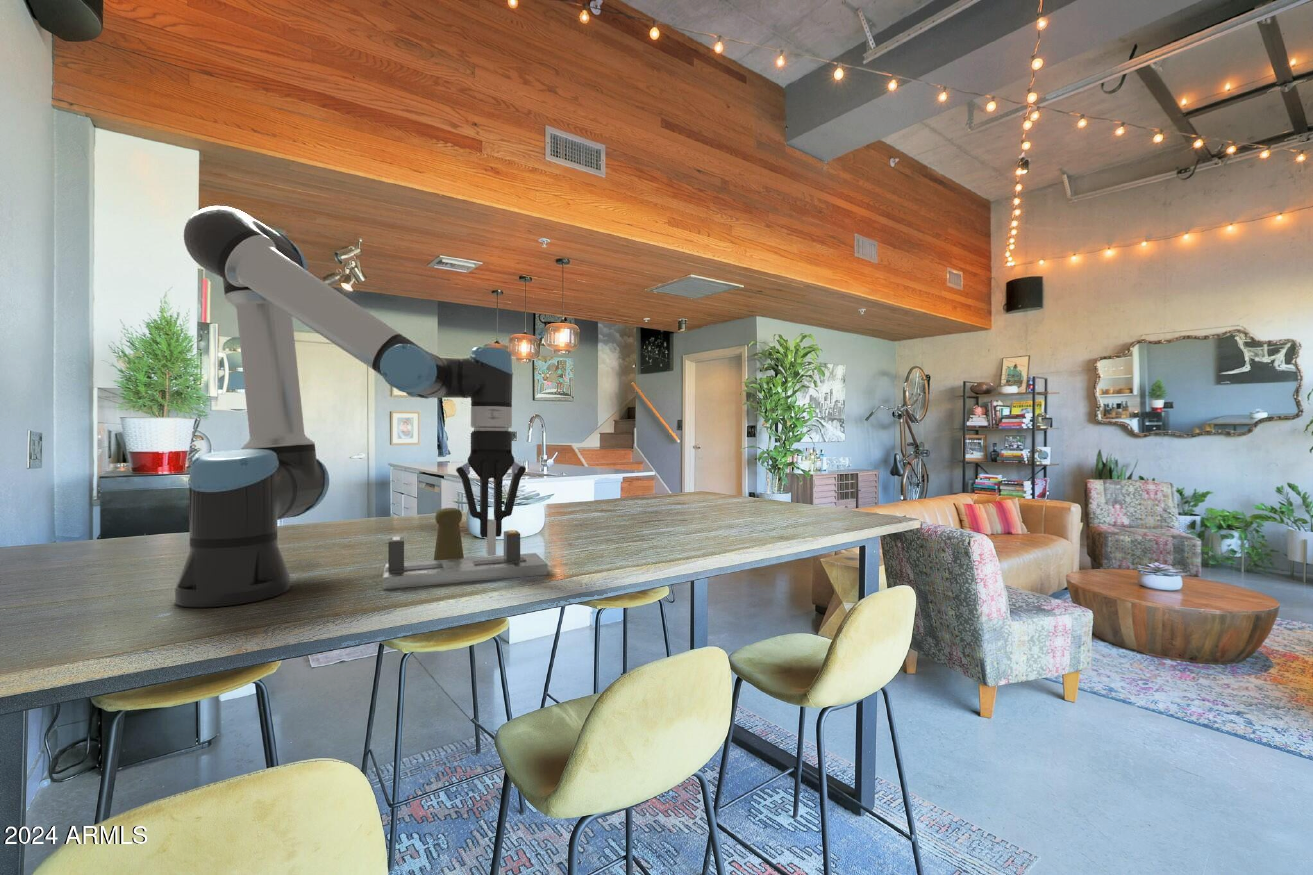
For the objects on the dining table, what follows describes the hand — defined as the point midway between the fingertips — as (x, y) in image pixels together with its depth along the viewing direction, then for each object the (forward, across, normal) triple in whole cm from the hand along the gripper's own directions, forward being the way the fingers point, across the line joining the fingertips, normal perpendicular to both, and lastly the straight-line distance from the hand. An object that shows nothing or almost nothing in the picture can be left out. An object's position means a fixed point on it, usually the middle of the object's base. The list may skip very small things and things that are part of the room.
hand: (490, 554), depth 111 cm
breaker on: (+1, -16, 0) cm, 16 cm away
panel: (+4, -4, 0) cm, 6 cm away
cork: (+4, -7, +13) cm, 15 cm away
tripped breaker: (+1, +4, 0) cm, 4 cm away
